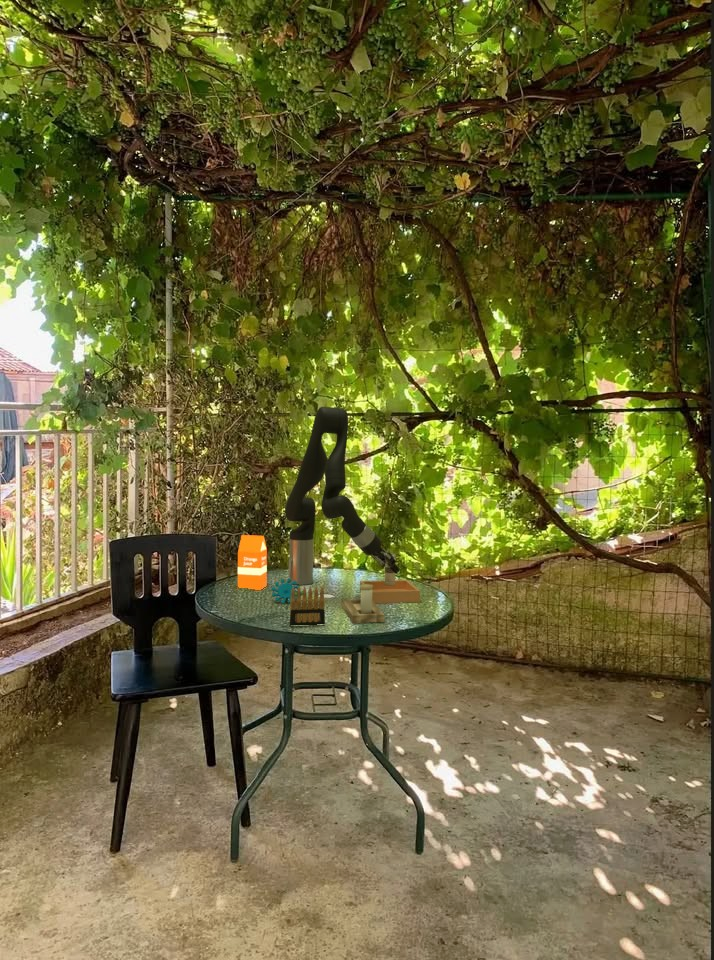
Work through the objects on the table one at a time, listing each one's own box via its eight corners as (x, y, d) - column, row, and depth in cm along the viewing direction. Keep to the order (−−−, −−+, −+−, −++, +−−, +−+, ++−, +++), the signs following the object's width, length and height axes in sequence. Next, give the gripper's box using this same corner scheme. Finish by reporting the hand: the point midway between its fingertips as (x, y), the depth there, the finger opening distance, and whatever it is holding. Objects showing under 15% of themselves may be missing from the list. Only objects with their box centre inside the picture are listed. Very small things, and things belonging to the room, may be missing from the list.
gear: (268, 599, 239) (275, 574, 245) (269, 608, 243) (276, 584, 250) (299, 605, 238) (306, 580, 244) (300, 613, 242) (306, 589, 249)
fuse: (361, 621, 219) (361, 586, 218) (358, 618, 222) (359, 583, 222) (373, 621, 219) (373, 586, 219) (370, 617, 223) (371, 583, 222)
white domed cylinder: (385, 585, 249) (386, 555, 248) (383, 583, 253) (383, 553, 252) (396, 585, 250) (396, 555, 249) (393, 583, 254) (394, 553, 253)
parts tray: (369, 603, 241) (369, 592, 241) (359, 591, 259) (360, 581, 259) (420, 602, 245) (420, 590, 244) (407, 590, 262) (407, 580, 262)
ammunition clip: (289, 626, 212) (290, 587, 211) (289, 625, 214) (289, 586, 213) (325, 625, 214) (325, 586, 213) (324, 623, 215) (324, 585, 215)
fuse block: (352, 623, 216) (352, 615, 216) (341, 606, 237) (342, 599, 237) (384, 622, 218) (384, 614, 218) (371, 605, 238) (371, 598, 238)
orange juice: (260, 591, 257) (260, 537, 256) (237, 590, 259) (237, 536, 258) (266, 586, 265) (267, 534, 264) (244, 585, 267) (244, 533, 265)
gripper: (382, 533, 240) (411, 565, 247) (362, 528, 253) (390, 559, 259) (369, 549, 238) (399, 582, 245) (349, 544, 250) (378, 575, 257)
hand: (394, 570), depth 252 cm, fingers closed on white domed cylinder, 3 cm apart
